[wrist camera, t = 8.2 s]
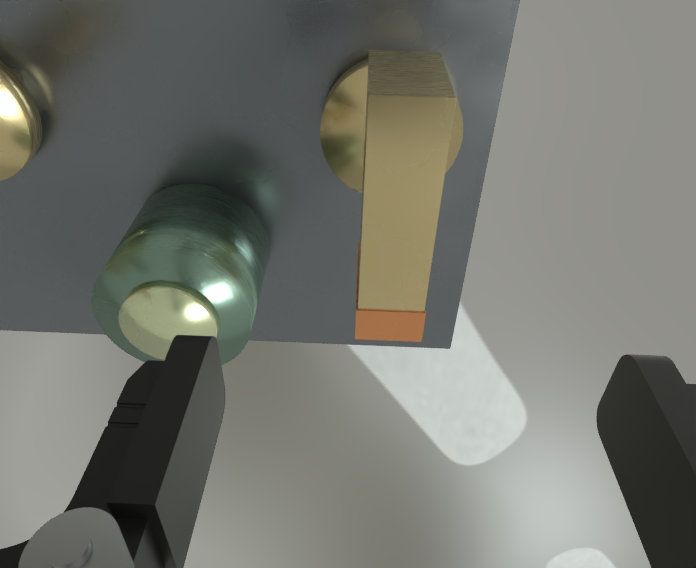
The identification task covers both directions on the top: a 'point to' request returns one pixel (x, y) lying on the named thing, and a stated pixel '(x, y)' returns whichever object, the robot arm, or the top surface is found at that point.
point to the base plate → (219, 166)
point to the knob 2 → (393, 178)
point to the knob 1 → (16, 124)
